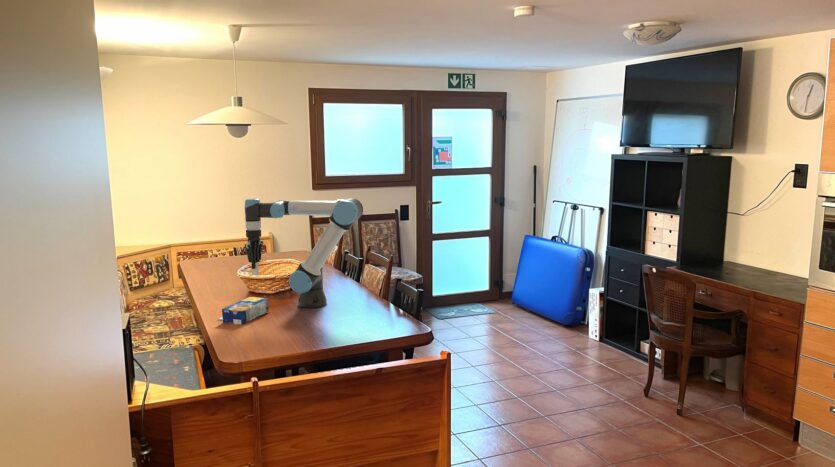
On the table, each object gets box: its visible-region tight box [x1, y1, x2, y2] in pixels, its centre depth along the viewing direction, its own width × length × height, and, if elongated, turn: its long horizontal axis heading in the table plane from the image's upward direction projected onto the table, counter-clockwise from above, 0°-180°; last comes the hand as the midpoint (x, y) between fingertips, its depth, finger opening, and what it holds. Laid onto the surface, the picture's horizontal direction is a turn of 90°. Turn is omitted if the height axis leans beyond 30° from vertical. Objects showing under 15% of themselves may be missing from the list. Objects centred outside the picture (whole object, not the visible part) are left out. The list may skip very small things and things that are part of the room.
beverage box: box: [221, 296, 270, 326], centre depth 289 cm, size 7×11×22 cm
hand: (255, 274), depth 301 cm, fingers closed
